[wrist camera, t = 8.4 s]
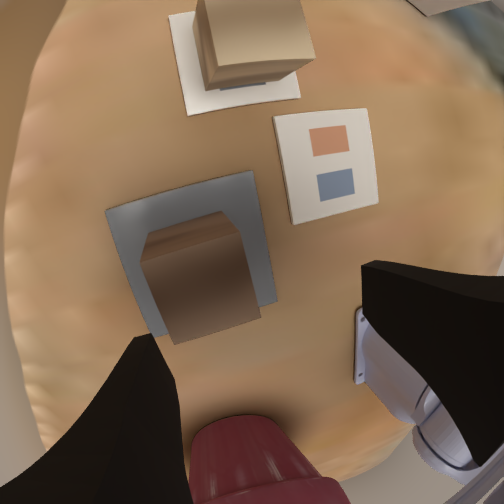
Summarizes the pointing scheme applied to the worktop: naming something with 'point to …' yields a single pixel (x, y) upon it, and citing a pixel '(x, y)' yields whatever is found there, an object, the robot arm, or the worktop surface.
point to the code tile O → (223, 97)
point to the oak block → (250, 41)
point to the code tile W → (326, 162)
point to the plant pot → (255, 466)
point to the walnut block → (199, 277)
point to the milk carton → (441, 5)
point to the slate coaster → (183, 209)
